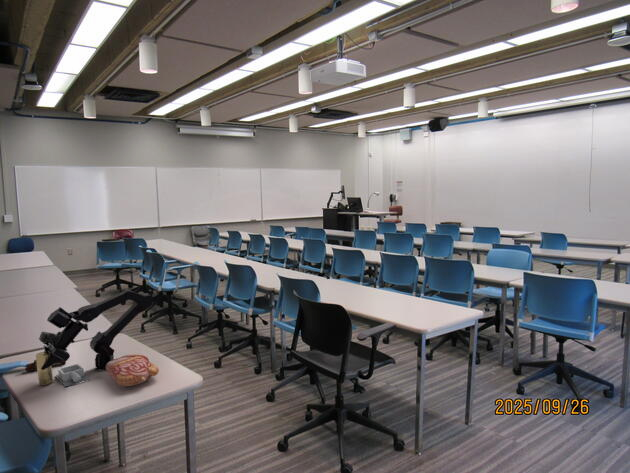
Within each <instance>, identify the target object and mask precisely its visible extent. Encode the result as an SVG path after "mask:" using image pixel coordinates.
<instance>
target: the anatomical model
mask: <svg viewBox="0 0 630 473" xmlns="http://www.w3.org/2000/svg"><path fill="white" fill-rule="evenodd" d="M105 371H107V374H108V375H109V377H110V378H112V379H113V381H114V382H115V383H116V384H118V385H119V386H122V387H133V386H136V385H139V384H142V383H144V382H146V381H147V380H149V378H152V377H154V376H157V375H158V374H159V372H160V370H159V367H158V366H157V365H156V364H155V363H153V362H150V361H149V358H148V357H147V356H146V355H144V354H140V353H132V354H125V355H123V356H120V357H118V358H114V360H111V361H109V362H108V363H107V364H106V370H105Z"/></svg>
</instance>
